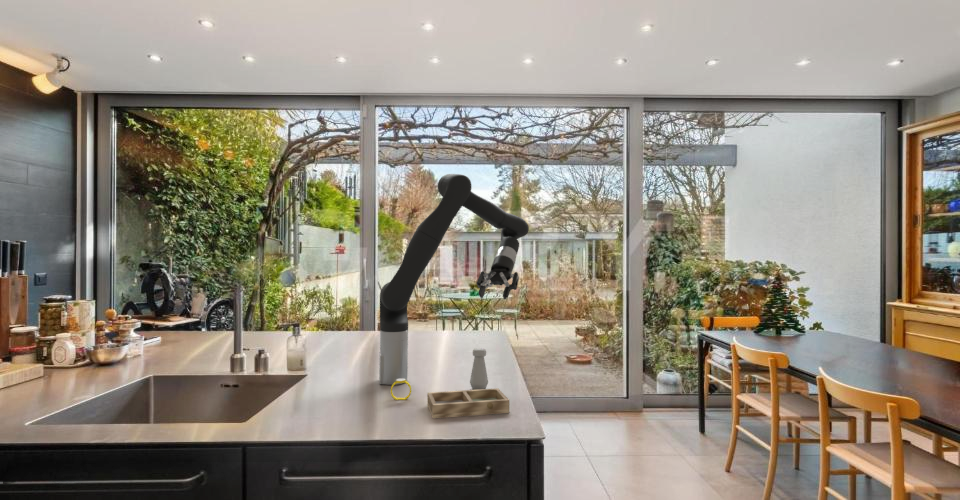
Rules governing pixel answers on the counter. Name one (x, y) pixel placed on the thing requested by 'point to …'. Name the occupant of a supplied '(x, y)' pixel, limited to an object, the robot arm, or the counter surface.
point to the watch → (401, 382)
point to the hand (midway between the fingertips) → (492, 297)
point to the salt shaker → (479, 370)
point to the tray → (467, 403)
